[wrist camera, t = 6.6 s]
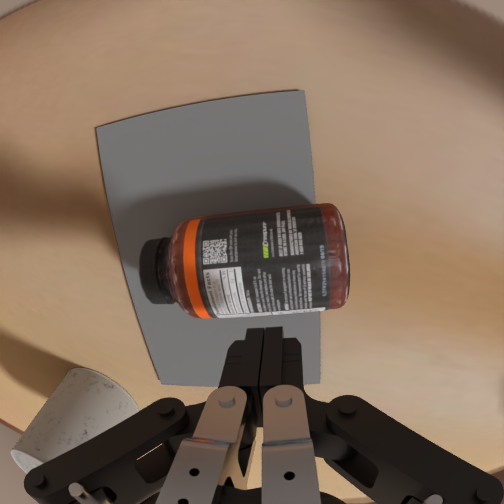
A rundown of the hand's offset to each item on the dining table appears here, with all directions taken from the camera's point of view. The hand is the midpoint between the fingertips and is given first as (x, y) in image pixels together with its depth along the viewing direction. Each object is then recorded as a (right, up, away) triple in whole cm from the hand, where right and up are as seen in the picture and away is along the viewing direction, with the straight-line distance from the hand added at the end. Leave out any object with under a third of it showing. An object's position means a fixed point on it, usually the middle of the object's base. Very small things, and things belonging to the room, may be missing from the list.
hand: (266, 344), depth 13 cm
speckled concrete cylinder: (-17, -12, +16) cm, 27 cm away
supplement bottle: (+5, +4, +4) cm, 7 cm away
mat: (-3, +3, +9) cm, 10 cm away
